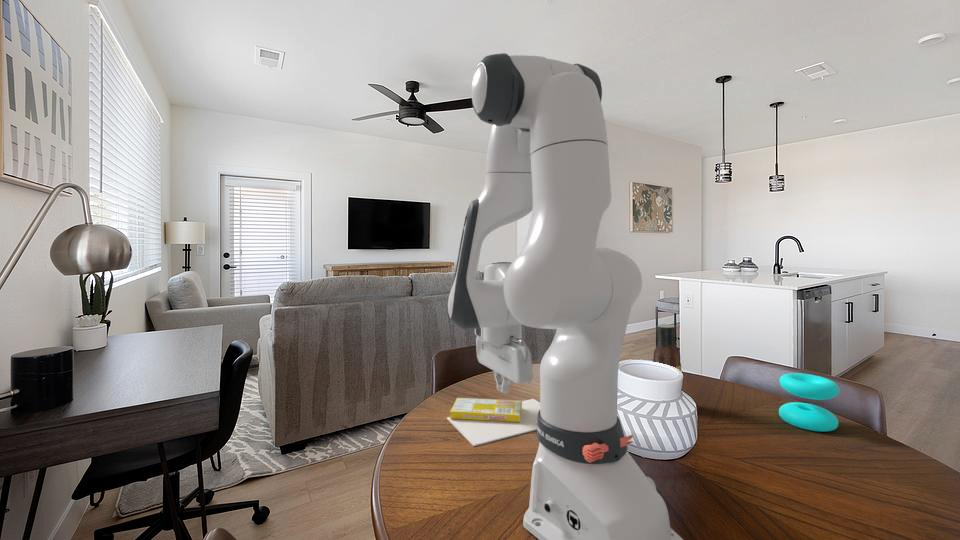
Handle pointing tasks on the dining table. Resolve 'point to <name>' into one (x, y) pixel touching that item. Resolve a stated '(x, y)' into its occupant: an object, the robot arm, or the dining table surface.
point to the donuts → (808, 413)
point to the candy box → (486, 409)
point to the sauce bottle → (667, 347)
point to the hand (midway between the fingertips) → (503, 391)
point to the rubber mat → (498, 425)
